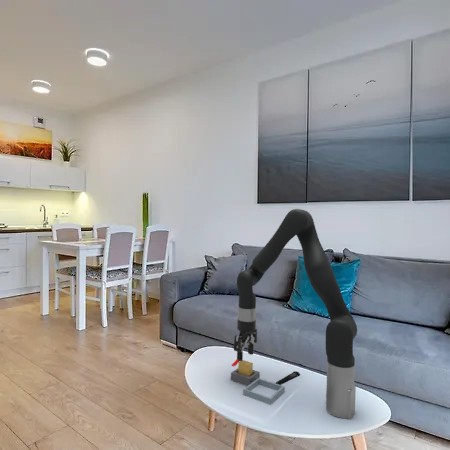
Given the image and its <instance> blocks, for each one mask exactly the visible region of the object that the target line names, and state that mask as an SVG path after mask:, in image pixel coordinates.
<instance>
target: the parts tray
mask: <svg viewBox="0 0 450 450" xmlns="http://www.w3.org/2000/svg"><path fill="white" fill-rule="evenodd" d="M259 385H260V386H263V387H266V388H269V389H272V390H275V391H276V392H274V393H273V394H272V395H271V396H266V395H264V394H261V393H258V392H255V391H253V390H254V389H255V388H257V387H258V386H259ZM285 390H286V386H284V385H283V384H281V385H279V384H276V382H272V381H268V380H267V379H264V378H258V379H256V380H255V381H254V382H252V383H251V384H250V385H248V386H246V387H244V388H243V389H242V396H246V397H249V398H250V399H254V400H257V401H259V402H262V403H265V404H268V405H271V406H272V404H273V403H274V402H276V400H278V398H280V397H281V396H282V395H283V394H284V393H285V392H286V391H285Z"/></svg>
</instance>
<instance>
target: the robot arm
mask: <svg viewBox="0 0 450 450" xmlns="http://www.w3.org/2000/svg"><path fill="white" fill-rule="evenodd" d="M314 221H315V220H314V219H313V216H312V214H311V213H310V212H308V211H307V210H305V209H302V208H294V209H291V210H290V211H288V213H287V214H286V215H285V217H284V218H283V220H281V223H280V225H279V226H278V228H277V230H276V231H275V232H274V234H273V235H272V236H271V238H270V239H269V241H268V242H267V243H266V244H265V245H264V246H263V247H262V249H261V250H260V251H259V252H258V253H257V254H256V256H254V258H253V260H252V262H251V263H252V264H251V265H250V266H249V267H248V268H247V269H245V270H241V271H240V272H239V273H238V275H237V277H236V287H237V288H236V289H237V293H238V310H237V320H236V321H237V323H236V324H237V326H236V328H237V331H239V334H238V335H234V342H233V351H235V352H236V360H238V361H239V362H240V361H242V360H244V359H243V358H244V357H243V356H244V349H245V347H247V348H248V349H247V353H248V355H251V356H253V354H254V346H255V345H256V344H257V342H258V329H256V326H257V325H256V323H257V322H256V321H257V309H256V307H257V306H256V305H257V304H256V303H257V302H256V301H257V297H256V294H255V293H254V290H253V286H256V285H257V284H258V283H259V282H260V281H261V279H262V278H263V276H264V275H265V273H266V272H267V271H268V270H269V269H270V267H271V266H272V265H273V264H274V263H275V262H276V261H277V260H278V258H279V256H281V254H282V251H283V250H284V249H285V246H286V245H287V244H288V243H289V242H290V241H291V240H292V239H294V237H295V236H296V237H297V239H298V241H299V244H300V246H301V249H302V250H301V251H302V257H303V265H304V270H305V272H306V275H307V277H308V281H309V283H310V285H311V287H312V289H313V290H314V292H315V293H316V294H317V296H318V297H319V299H321V301H322V303H323V304H324V306H325V308H326V311H327V314H328V316H329V317H328V318H329V320H330V321H329V322H328V324H327V325H326V328H325V353H326V354H325V355H326V357H327V358H326V390H325V396H326V397H325V409H326V411H327V413H329V414H330V415H331V416H333V417H336V418H342V419H349V420H351V419H352V418H353V415H354V414H355V412H356V392H357V391H356V389H357V388H356V387H357V385H356V384H355V364H356V358H355V356H354V352H353V349H354V343H353V342H354V339H355V338H356V336H357V334H358V326H357V323H356V321H355V319H354V317H353V315H352V313H351V312H350V309H349V308H348V306H347V304H346V302H345V300H344V297H343V295H342V291H341V289H340V286H339V284H338V281H337V279H336V275H335V273H334V272H335V271H334V270H333V268H332V265H331V262H330V261H329V258H328V257H327V254H326V252H325V249H324V248H323V246H322V244H321V241H320V239H319V236H318V235H319V234H318V232H317V229H316V225H315V222H314ZM247 345H248V346H247Z"/></svg>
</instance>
